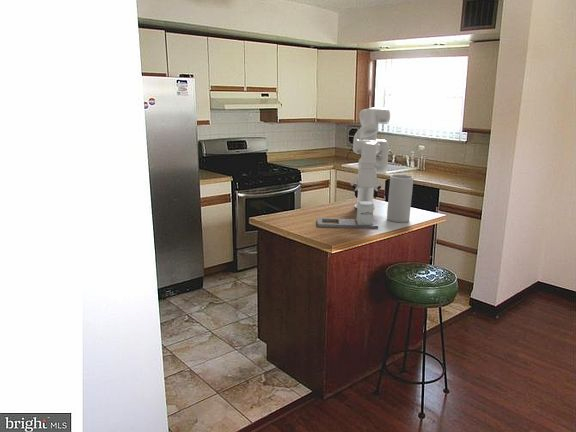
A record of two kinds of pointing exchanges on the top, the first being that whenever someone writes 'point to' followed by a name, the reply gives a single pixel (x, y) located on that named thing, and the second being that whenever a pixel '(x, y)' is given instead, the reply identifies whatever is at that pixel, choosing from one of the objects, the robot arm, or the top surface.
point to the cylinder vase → (399, 198)
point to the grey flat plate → (344, 223)
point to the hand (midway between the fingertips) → (365, 197)
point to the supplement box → (365, 213)
